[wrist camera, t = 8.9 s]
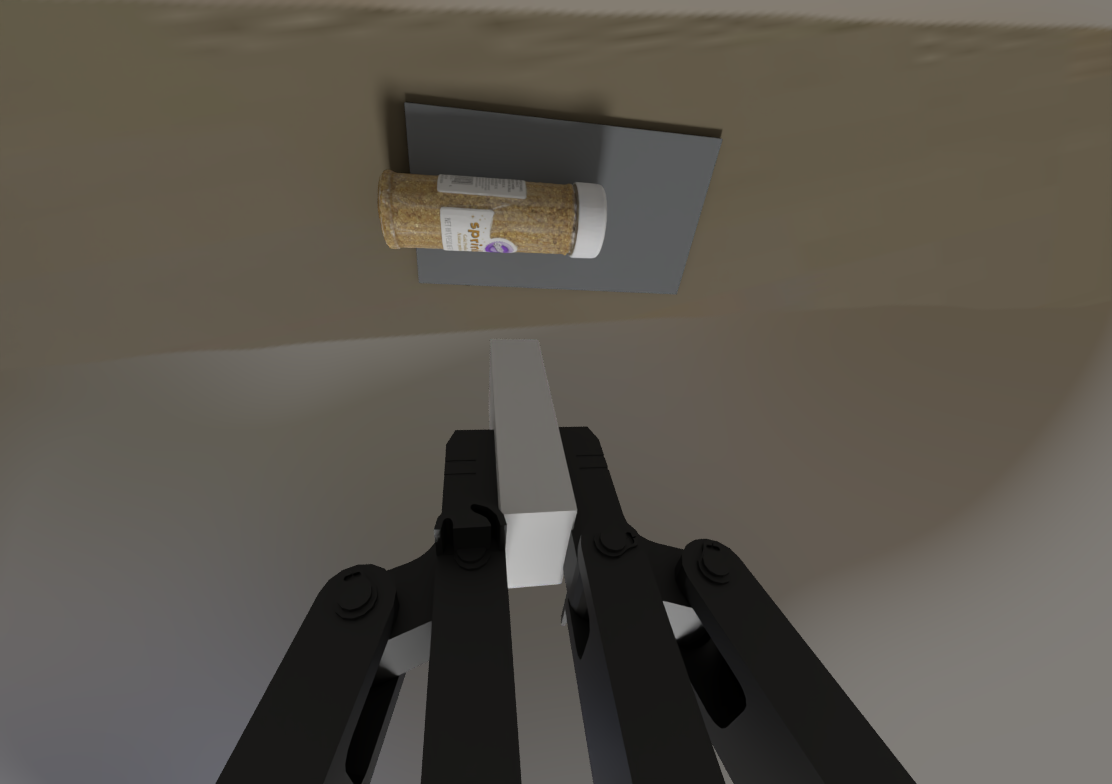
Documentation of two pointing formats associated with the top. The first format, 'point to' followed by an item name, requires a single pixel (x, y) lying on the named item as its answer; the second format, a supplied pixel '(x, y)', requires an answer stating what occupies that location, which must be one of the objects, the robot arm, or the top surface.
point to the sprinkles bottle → (491, 214)
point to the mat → (565, 158)
